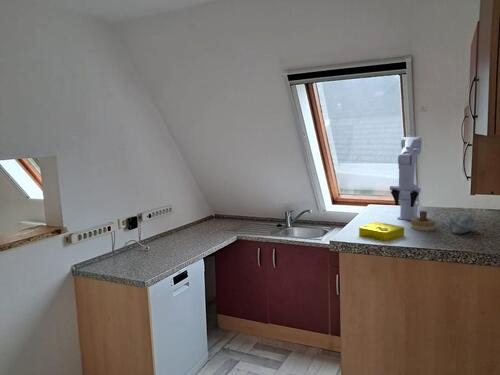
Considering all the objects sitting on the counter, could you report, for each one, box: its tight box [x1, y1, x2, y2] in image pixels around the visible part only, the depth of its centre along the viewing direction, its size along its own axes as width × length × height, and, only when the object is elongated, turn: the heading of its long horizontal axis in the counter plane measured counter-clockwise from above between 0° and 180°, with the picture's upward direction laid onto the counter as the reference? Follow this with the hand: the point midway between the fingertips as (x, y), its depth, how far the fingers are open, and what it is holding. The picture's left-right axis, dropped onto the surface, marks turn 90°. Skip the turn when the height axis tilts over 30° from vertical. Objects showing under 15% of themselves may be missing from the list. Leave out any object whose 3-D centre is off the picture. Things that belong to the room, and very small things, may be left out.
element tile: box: [358, 221, 405, 243], centre depth 184 cm, size 15×15×5 cm
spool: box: [448, 213, 475, 235], centre depth 186 cm, size 14×10×10 cm
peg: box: [419, 210, 428, 221], centre depth 195 cm, size 3×3×8 cm
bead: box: [410, 217, 436, 232], centre depth 195 cm, size 10×10×4 cm
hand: (404, 205), depth 202 cm, fingers open, 7 cm apart
